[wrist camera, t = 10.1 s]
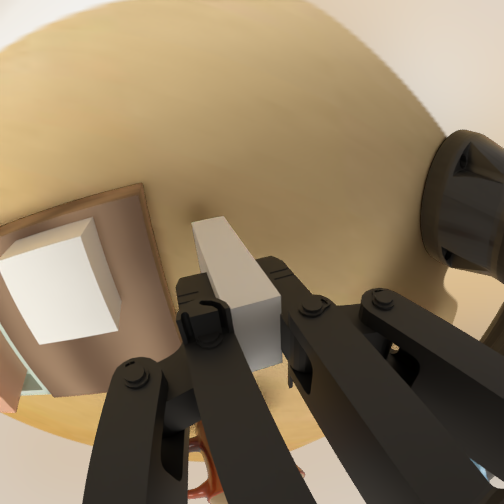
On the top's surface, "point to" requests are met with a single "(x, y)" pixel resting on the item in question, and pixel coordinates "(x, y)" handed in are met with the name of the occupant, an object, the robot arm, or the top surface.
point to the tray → (27, 374)
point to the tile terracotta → (10, 377)
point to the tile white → (62, 283)
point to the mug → (208, 470)
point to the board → (128, 286)
